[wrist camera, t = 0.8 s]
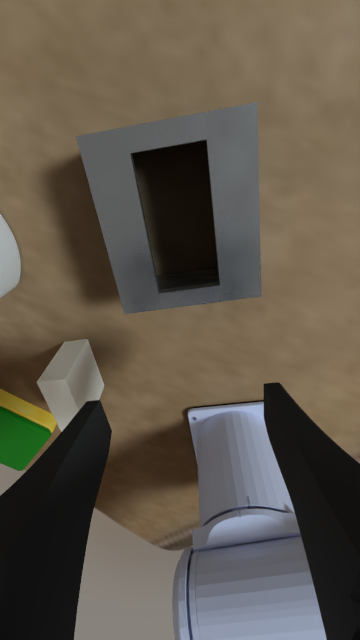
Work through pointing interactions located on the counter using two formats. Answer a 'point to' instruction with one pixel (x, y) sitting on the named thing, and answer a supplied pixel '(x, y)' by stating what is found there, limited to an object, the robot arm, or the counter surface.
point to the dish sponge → (22, 430)
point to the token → (70, 381)
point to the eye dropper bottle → (8, 259)
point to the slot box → (226, 195)
